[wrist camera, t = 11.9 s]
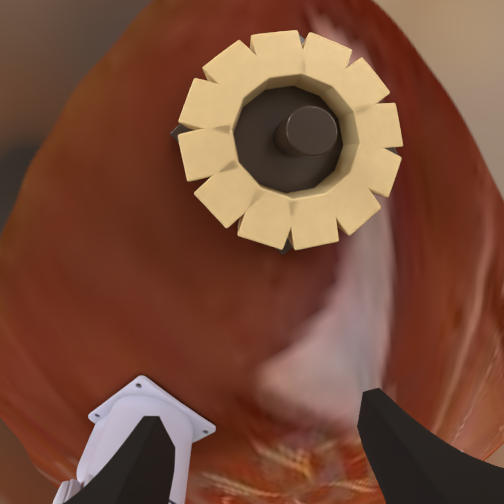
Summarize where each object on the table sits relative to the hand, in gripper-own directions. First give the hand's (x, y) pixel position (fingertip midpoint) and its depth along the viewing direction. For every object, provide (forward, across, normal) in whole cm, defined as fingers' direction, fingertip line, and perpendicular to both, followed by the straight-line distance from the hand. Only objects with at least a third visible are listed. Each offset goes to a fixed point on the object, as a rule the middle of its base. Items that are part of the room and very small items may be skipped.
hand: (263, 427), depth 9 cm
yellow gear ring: (+9, -3, -10) cm, 13 cm away
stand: (+10, -3, -10) cm, 14 cm away
